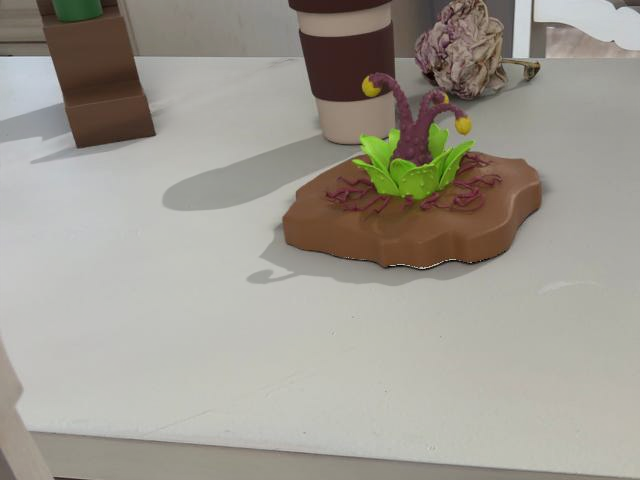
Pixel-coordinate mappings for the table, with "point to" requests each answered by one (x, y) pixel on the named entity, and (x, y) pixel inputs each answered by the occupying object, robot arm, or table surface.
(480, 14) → the decorative flower
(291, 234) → the plant
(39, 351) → the table surface
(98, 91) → the rack
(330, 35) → the coffee cup
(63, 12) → the green bottle
